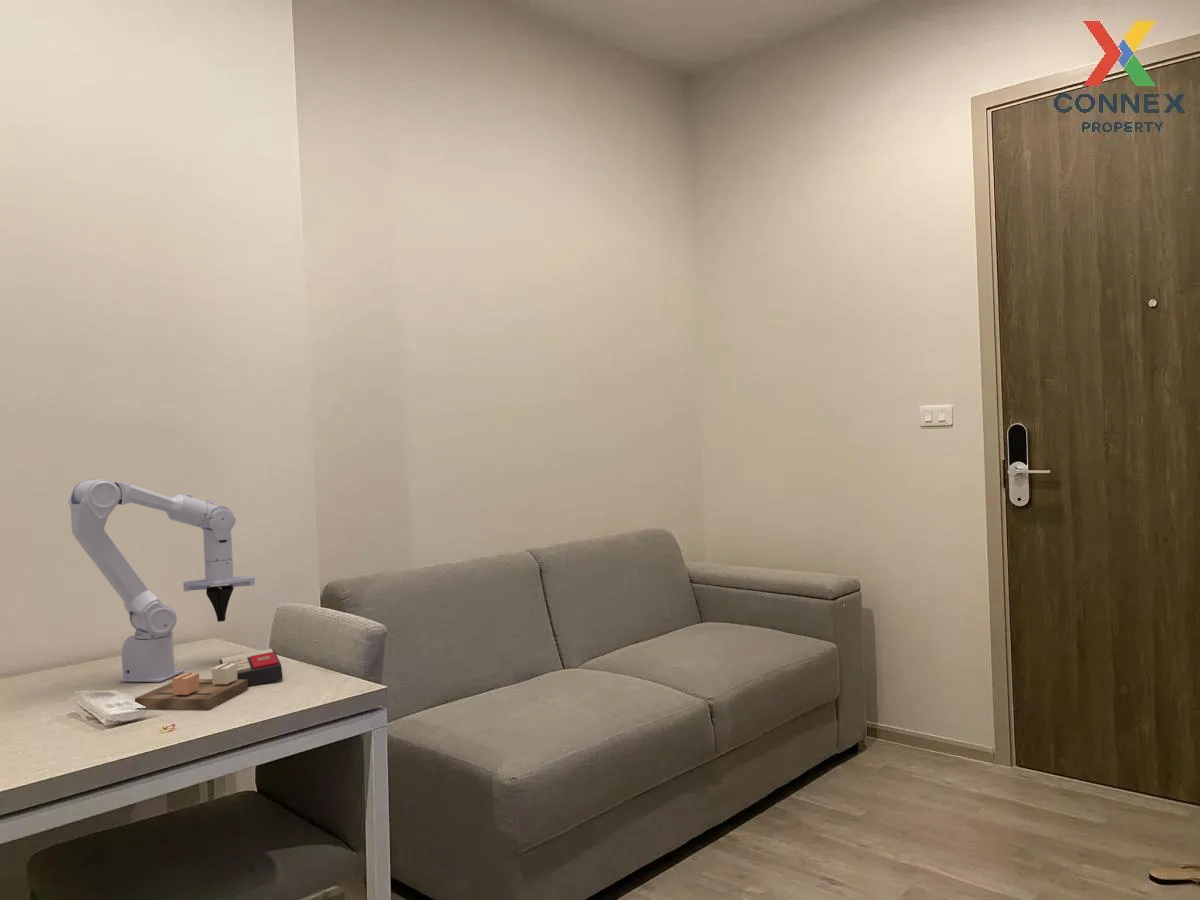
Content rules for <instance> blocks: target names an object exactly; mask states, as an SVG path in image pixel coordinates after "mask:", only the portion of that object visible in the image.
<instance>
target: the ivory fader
mask: <svg viewBox="0 0 1200 900" xmlns="http://www.w3.org/2000/svg"><path fill="white" fill-rule="evenodd" d="M211 679H212V682H213V684H228V683H230V682H232V681H234V680H237V664H231V663H228V664H221V665H220V664H219V665H217V666H215V667H212V668H211Z"/></svg>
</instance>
